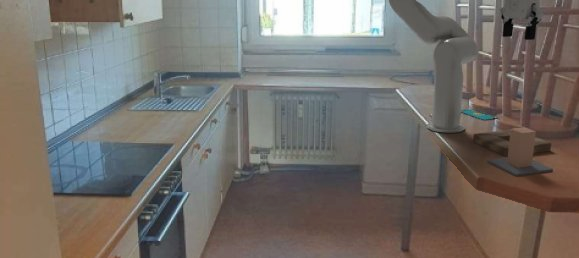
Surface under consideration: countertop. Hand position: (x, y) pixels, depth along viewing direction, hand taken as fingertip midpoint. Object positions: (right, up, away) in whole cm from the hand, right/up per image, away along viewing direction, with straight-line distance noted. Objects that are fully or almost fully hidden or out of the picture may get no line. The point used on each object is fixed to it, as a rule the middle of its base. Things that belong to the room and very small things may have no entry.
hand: (518, 38), depth 153 cm
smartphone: (+4, -23, +42) cm, 48 cm away
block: (-5, -38, -12) cm, 40 cm away
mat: (-5, -38, -12) cm, 41 cm away
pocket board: (0, -33, +5) cm, 34 cm away
